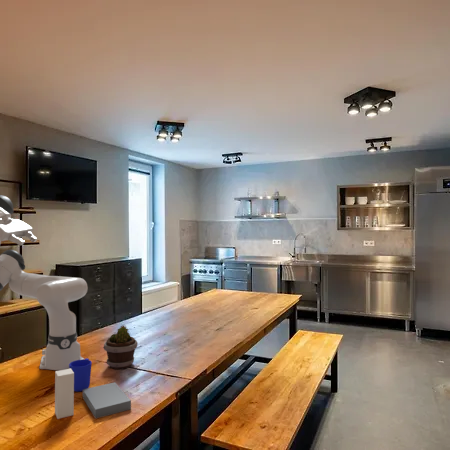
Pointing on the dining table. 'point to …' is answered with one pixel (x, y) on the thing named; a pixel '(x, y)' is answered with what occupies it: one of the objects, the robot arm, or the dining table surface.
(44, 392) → the dining table surface
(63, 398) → the block
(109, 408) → the block
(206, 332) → the dining table surface
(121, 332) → the flowerpot
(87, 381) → the mug
